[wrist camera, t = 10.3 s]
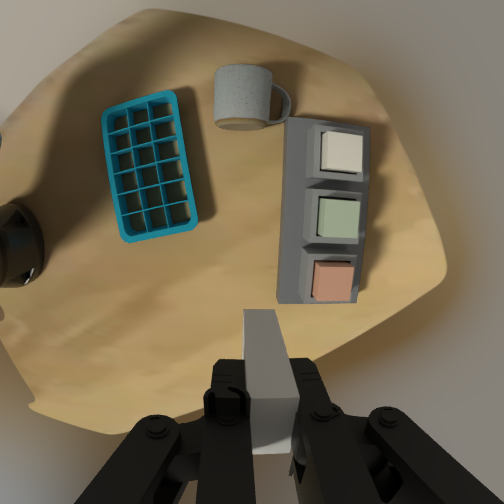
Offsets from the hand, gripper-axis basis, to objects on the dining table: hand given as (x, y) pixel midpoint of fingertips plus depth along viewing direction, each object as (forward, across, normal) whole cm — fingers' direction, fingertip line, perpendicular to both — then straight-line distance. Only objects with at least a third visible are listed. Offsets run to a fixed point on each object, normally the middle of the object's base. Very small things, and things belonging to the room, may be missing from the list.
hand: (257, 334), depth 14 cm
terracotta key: (+25, +11, -4) cm, 27 cm away
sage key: (+25, +11, +4) cm, 27 cm away
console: (+29, +11, +4) cm, 32 cm away
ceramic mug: (+30, 0, +19) cm, 35 cm away
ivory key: (+25, +11, +12) cm, 30 cm away
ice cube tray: (+30, -14, +10) cm, 35 cm away
